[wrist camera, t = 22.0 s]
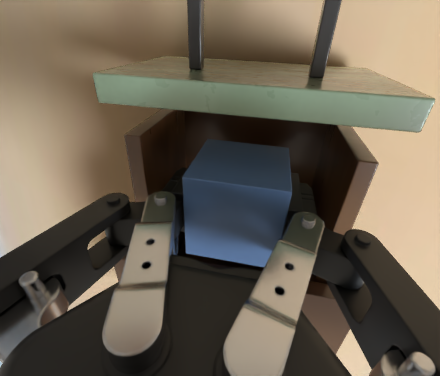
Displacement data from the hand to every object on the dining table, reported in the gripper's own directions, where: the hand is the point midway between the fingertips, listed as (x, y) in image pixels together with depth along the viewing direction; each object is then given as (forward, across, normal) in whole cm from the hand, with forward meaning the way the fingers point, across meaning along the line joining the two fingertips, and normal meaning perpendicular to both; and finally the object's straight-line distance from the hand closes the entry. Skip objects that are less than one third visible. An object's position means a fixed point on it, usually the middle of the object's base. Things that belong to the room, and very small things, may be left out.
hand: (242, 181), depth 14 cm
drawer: (+5, 0, 0) cm, 5 cm away
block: (0, 0, 0) cm, 1 cm away
